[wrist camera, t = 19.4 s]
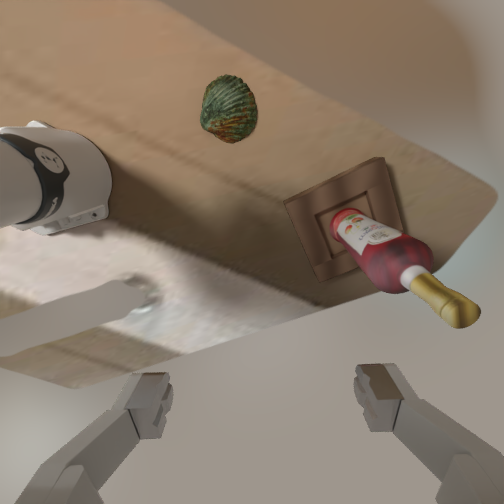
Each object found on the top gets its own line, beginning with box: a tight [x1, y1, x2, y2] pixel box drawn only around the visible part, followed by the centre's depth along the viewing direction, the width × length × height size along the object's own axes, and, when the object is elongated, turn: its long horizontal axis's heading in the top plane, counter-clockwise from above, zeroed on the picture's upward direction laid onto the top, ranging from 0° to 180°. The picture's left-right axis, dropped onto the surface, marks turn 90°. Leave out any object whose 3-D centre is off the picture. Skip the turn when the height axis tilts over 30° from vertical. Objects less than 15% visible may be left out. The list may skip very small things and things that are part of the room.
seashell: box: [200, 75, 257, 143], centre depth 39 cm, size 10×4×10 cm
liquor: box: [329, 208, 481, 328], centre depth 33 cm, size 7×7×28 cm
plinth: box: [283, 157, 404, 283], centre depth 46 cm, size 18×18×4 cm
